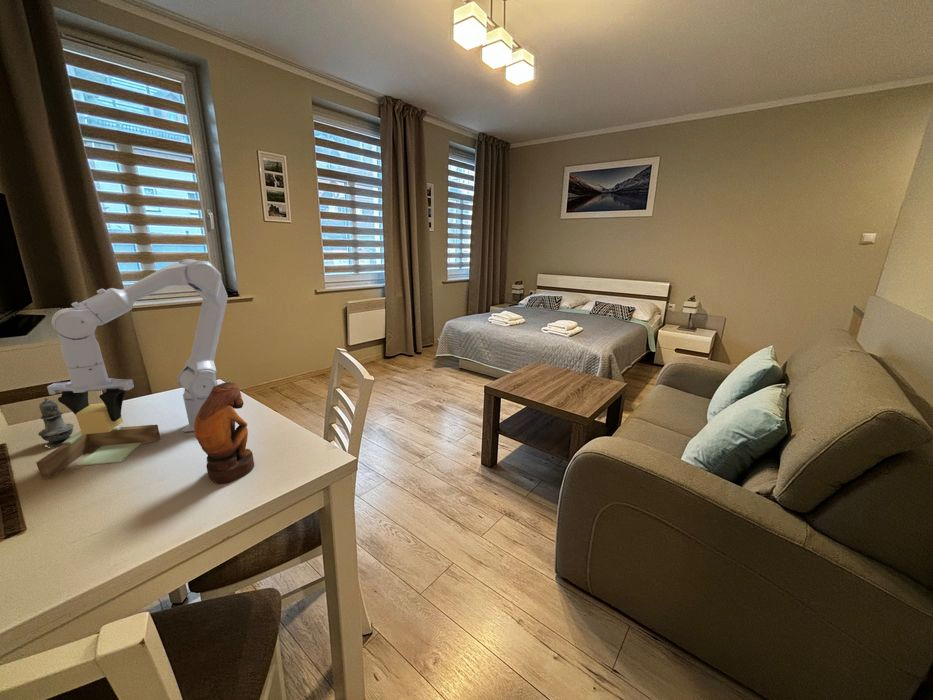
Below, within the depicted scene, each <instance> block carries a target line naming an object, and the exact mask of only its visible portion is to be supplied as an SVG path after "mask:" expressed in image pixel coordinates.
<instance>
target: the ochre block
mask: <svg viewBox="0 0 933 700" xmlns="http://www.w3.org/2000/svg"><path fill="white" fill-rule="evenodd" d="M75 416H76V420H77V423H78V426H79V429H80V430H79V431H81V433H82V434H92V433H104V432H110V431H111V430H113V429H114V428H115V427H117V426H119V425H121V424H122V423H123V422H124V419H123V416H122V415H121V418H119V419H118V420H117V421H112V420H111V419H110V416H109V413H108V410H107V408H106V406H105V404H104V402H103V403H102V402H100V403H91V404H89V406H87V407H86V408H84V409H83V410H81V411H79V412H78V413H76V415H75Z"/></svg>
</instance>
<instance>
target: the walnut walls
mask: <svg viewBox="0 0 933 700" xmlns="http://www.w3.org/2000/svg"><path fill="white" fill-rule="evenodd" d="M159 429H160V428H159V425H158V424H148V425H133V426H123V425H121V424H119V425H118V426H117V427H115V428H114V429H113V430H111V431H110V432H104V433H92V434H82V433H81V430H79V431H77V432H76V433H75V434H73V435H71V436H72V437H70V438H69V439H67V440H66V441H64V442H63V443H62V444H63V445H62V446H60V447H58V448H55V449H54V450H52V451H51V452H50V453H48V454H47V455H45V456H44V457H42V458H41V459H40V460H38V461H36V462H35V463H36V466H37V470H38V472H39V474H40V477H41V480H47V479H52V478H53V477H55V476H56V475H57V474H58V473H60V472H61V471H63V469H65V468H66V467H68V466H69V465H70V464H72V463H73V462H75V461H76V460H77V459H78V458H80V457H82V456H83V455H84V454H85V453H87V452H88V451H90V450H91V449H92V448H98V446H100V447H102V446H104V445H117V444H129V443H142V444H146V443H147V444H149V443H155V442H159V441H160V440H162V438H161V434H160V430H159ZM90 448H91V449H90Z"/></svg>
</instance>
